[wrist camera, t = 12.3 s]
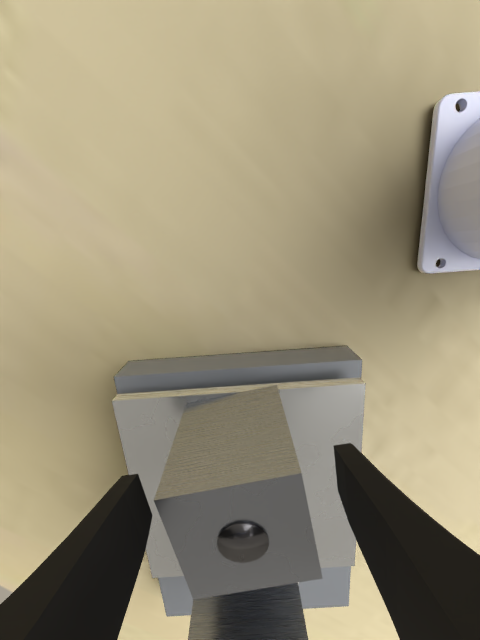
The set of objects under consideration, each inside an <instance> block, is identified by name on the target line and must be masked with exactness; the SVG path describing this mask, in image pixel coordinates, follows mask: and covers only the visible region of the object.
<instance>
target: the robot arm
mask: <svg viewBox="0 0 480 640" xmlns="http://www.w3.org/2000/svg"><path fill="white" fill-rule="evenodd" d="M456 103H457V104H459V106H460V111H459V112H457V110H456V109H455V105H456ZM438 259H440V265H439V266H438V267H436V262H437V260H438ZM417 267H418V269H419V271H420V272H422V273H429V274H430V273H444V272H457V271H471V270H480V91H477V92H465V93H453V94H448V95H446V96H444V97H443V98H442V99H440V100H439V101H438V102H437V103H436V105H435V107H434V111H433V119H432V129H431V138H430V148H429V157H428V167H427V176H426V186H425V196H424V205H423V215H422V224H421V234H420V243H419V253H418V262H417ZM334 456H335V467H336V477H337V488H338V493H339V496H340V498H341V501H342V504H343V507H344V510H345V513H346V516H347V519H348V522H349V524H350V527H351V529H352V531H353V533H354V536H355V538H356V540H357V542H358V545H359V547H360V549H361V551H362V554H363V556H364V558H365V560H366V562H367V565H368V567H369V569H370V571H371V574H372V576H373V578H374V580H375V582H376V585H377V587H378V589H379V591H380V594H381V596H382V598H383V600H384V602H385V605H386V607H387V609H388V611H389V614H390V616H391V619H392V621H393V623H394V626H395V628H396V631H397V633H398V636H399V638H400V640H480V555H479V554H477V553H476V552H475V551H473V550H472V549H471V548H469V547H468V546H467V545H465V544H464V543H463V542H461V541H460V540H459V539H458V538H456V537H455V536H454V535H452V534H451V533H450V532H449V531H447V530H446V529H445V528H444V527H442V526H441V525H440V524H439V523H438V522H436V521H435V520H434V519H433V518H432V517H430V516H429V515H428V514H427V513H426V512H424V511H423V510H422V509H421V508H420V507H419V506H417V505H416V504H415V503H414V502H413V501H412V500H410V499H409V498H408V497H407V496H406V495H405V494H404V493H403V492H402V491H400V490H399V489H398V488H397V487H396V486H395V485H394V484H393V483H392V482H391V481H390V480H388V479H387V478H386V477H385V476H384V475H383V474H382V473H381V472H380V471H379V470H378V469H377V468H376V467H375V466H374V465H373V464H372V463H371V462H370V461H369V460H368V459H367V458H366V457H365V456H364V455H363V454H362V453H361V452H360V451H359V450H358V449H357V448H356V447H355V446H354V445H353V444H351V443H347V444H340V445H334ZM152 516H153V515H152V512H151V510H150V507H149V504H148V501H147V498H146V495H145V492H144V489H143V486H142V484H141V481H140V478H139V475H138V474H132V475H125V476H122V477H121V478H120V479H119V480H118V481H117V482H116V483H115V484H114V485H113V486H112V487H111V489H110V490H109V491H108V492H107V493H106V494H105V495H104V496H103V498H102V499H101V500H100V501H99V502H98V503H97V504H96V506H95V507H94V508H93V509H92V510H91V511H90V512H89V513H88V514H87V516H86V517H85V518H84V519H83V520H82V521H81V522H80V523H79V524H78V526H77V527H76V528H75V529H74V530H73V531H72V532H71V533H70V534H69V536H68V537H67V538H66V539H65V540H64V541H63V542H62V543H61V544H60V545H59V546H58V547H57V548H56V549H55V550H54V551H53V552H52V553H51V555H50V556H49V557H48V558H47V559H46V560H45V561H44V562H43V563H42V564H41V565H40V566H39V567H38V568H37V569H36V570H35V571H34V572H33V573H32V574H31V575H30V576H29V577H28V578H27V579H26V580H25V581H24V582H23V583H22V584H21V585H20V586H19V587H18V588H17V589H16V590H15V591H14V592H13V593H12V594H11V595H10V596H9V597H8V598H7V599H6V600H5V601H4V602H3V603H2V604H0V640H117V638H118V635H119V632H120V629H121V626H122V623H123V620H124V616H125V613H126V610H127V607H128V604H129V601H130V598H131V594H132V591H133V588H134V585H135V582H136V579H137V576H138V572H139V569H140V566H141V563H142V560H143V556H144V553H145V549H146V545H147V540H148V536H149V531H150V526H151V521H152Z"/></svg>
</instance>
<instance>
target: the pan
mask: <svg viewBox="0 0 480 640" xmlns="http://www.w3.org/2000/svg"><path fill="white" fill-rule="evenodd" d="M365 384H366V383H365V382H364V381H363V380H362V379H361V378H360V377H358V378H344V379H329V380H314V381H300V382H285V383H270V384H256V385H241V386H227V387H212V388H197V389H183V390H168V391H153V392H139V393H124V394H117V395H116V396H115V397H114V399H113V400H112V404H113V408H114V413H115V417H116V421H117V426H118V430H119V434H120V439H121V443H122V448H123V452H124V456H125V461H126V465H127V469H128V474H129V475H132V474H138V475H139V478H140V481H141V484H142V486H143V489H144V492H145V495H146V498H147V501H148V504H149V507H150V510H151V512H152V515H153V516H152V521H151V526H150V531H149V536H148V540H147V545H146V552H147V557H148V561H149V565H150V570H151V574H152V578H160V577H177V576H184V575H183V572H182V570H181V567H180V565H179V562H178V560H177V557H176V555H175V552H174V550H173V547H172V545H171V542H170V540H169V537H168V535H167V532H166V530H165V527H164V525H163V522H162V520H161V517H160V515H159V512H158V510H157V507H156V505H155V502H154V498H155V495H156V492H157V489H158V486H159V483H160V480H161V477H162V474H163V471H164V468H165V465H166V462H167V459H168V456H169V453H170V450H171V447H172V444H173V441H174V438H175V435H176V432H177V429H178V426H179V423H180V420H181V417H182V414H183V411H184V408H185V405H186V403H190V402H195V401H200V400H205V399H210V398H215V397H219V396H224V395H229V394H234V393H239V392H244V391H249V390H254V389H259V388H264V387H268V386H273V385H277V387H278V391H279V394H280V398H281V402H282V405H283V409H284V412H285V416H286V419H287V423H288V426H289V430H290V434H291V437H292V441H293V444H294V448H295V451H296V455H297V459H298V462H299V466H300V469H301V473H302V478H303V483H304V488H305V493H306V498H307V503H308V508H309V512H310V517H311V522H312V527H313V532H314V537H315V542H316V547H317V552H318V557H319V562H320V567H321V568H329V567H346V566H354V565H355V549H356V538H355V536H354V533H353V531H352V529H351V527H350V524H349V522H348V519H347V516H346V513H345V510H344V507H343V504H342V501H341V498H340V496H339V493H338V488H337V477H336V467H335V456H334V445H340V444H347V443H351V444H353V445H354V446H355V447H356V448H357V449H358V450H359V451H360V452H361V450H362V434H363V417H364V401H365Z"/></svg>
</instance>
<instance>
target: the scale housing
mask: <svg viewBox="0 0 480 640" xmlns="http://www.w3.org/2000/svg"><path fill="white" fill-rule="evenodd" d="M361 373H362V359H361V358H360V357H359V356H358V355H356V354H355V353H354V352H353V351H352V350H351V349H350V348H349V347H348V346H337V347H322V348H308V349H294V350H280V351H265V352H251V353H237V354H222V355H208V356H194V357H179V358H165V359H151V360H137V361H128V363H127V364H126V365H125V366H124V367H123V368H122V369H121V370H120V371H119V372H118V373H117V374H116V375H115V376H114V381H115V385H116V390H117V394H124V393H139V392H153V391H168V390H183V389H197V388H212V387H227V386H241V385H256V384H270V383H285V382H300V381H314V380H329V379H344V378H358V377H360V378H361ZM350 571H351V566H346V567H329V568H321V572H322V577H323V579H317V580H311V581H305V582H299V583H298V586H299V591H300V597H301V603H302V608H303V609H306V608H324V607H342V606H349V589H350ZM158 580H159V584H160V589H161V593H162V598H163V602H164V607H165V611H166V616H184V615H191V613H192V605H193V597H192V595H191V592H190V590H189V587H188V585H187V582H186V580H185V577H184V576H177V577H160V578H158Z"/></svg>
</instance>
